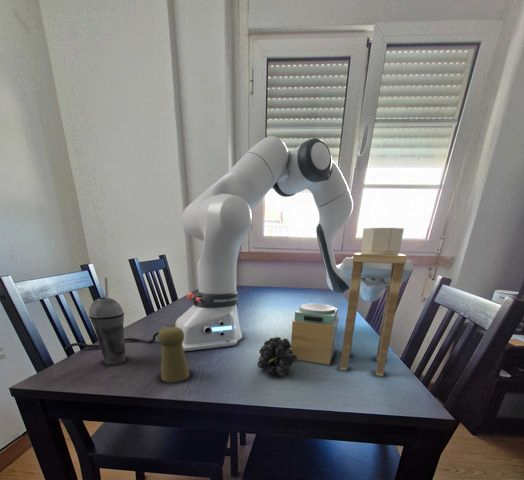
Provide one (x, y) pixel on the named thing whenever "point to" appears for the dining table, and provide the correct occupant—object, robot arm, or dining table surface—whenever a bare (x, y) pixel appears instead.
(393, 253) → the cream faceted block
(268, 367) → the fruit
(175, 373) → the olive game pawn
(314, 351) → the scale
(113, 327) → the beverage cup
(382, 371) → the stand
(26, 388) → the dining table surface
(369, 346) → the dining table surface
